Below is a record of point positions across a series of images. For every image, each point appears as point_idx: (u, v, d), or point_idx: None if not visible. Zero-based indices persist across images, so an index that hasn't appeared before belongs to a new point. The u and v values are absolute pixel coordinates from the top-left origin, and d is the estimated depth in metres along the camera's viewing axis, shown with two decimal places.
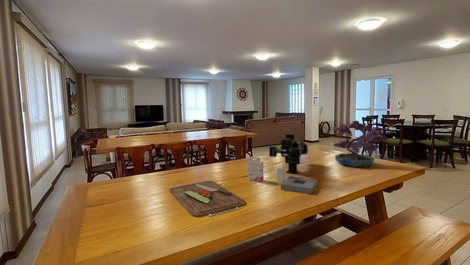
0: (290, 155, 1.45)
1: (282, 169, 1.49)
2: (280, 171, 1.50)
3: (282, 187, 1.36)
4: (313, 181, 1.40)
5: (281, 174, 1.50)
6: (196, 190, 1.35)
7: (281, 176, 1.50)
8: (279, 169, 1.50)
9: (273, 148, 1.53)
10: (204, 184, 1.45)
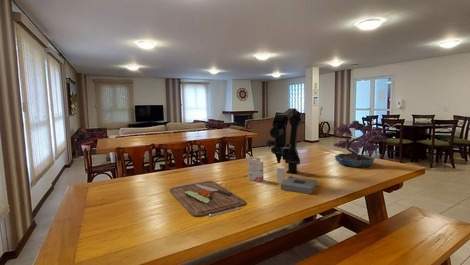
0: (278, 159, 1.46)
1: (282, 169, 1.49)
2: (280, 171, 1.50)
3: (282, 187, 1.36)
4: (313, 181, 1.40)
5: (281, 174, 1.50)
6: (196, 190, 1.35)
7: (281, 176, 1.50)
8: (279, 169, 1.50)
9: None
10: (204, 184, 1.45)
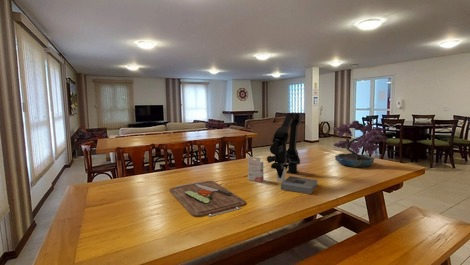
0: (279, 174, 1.49)
1: None
2: None
3: (282, 187, 1.36)
4: (313, 181, 1.40)
5: None
6: (196, 190, 1.35)
7: (281, 176, 1.50)
8: None
9: None
10: (204, 184, 1.45)
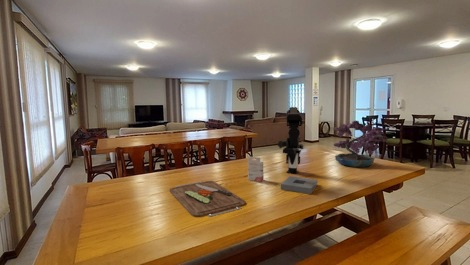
0: (291, 160, 1.39)
1: None
2: None
3: (282, 187, 1.36)
4: (313, 181, 1.40)
5: None
6: (196, 190, 1.35)
7: None
8: None
9: None
10: (204, 184, 1.45)
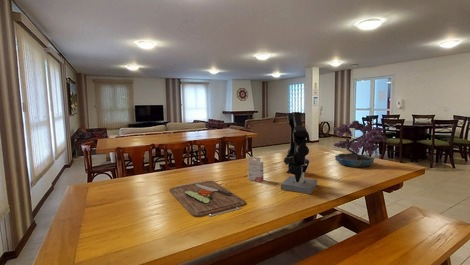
0: (297, 178, 1.35)
1: (301, 175, 1.37)
2: None
3: (282, 187, 1.36)
4: (313, 181, 1.40)
5: (300, 180, 1.37)
6: (196, 190, 1.35)
7: (300, 183, 1.37)
8: None
9: None
10: (204, 184, 1.45)
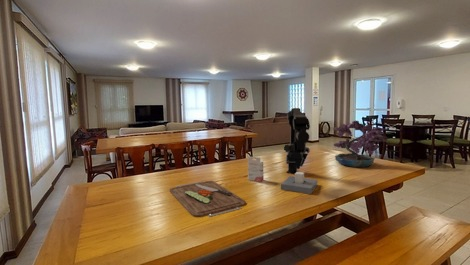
0: (298, 165, 1.35)
1: (301, 175, 1.37)
2: (299, 177, 1.37)
3: (282, 187, 1.36)
4: (313, 181, 1.40)
5: (300, 180, 1.37)
6: (196, 190, 1.35)
7: (300, 183, 1.37)
8: (297, 175, 1.38)
9: None
10: (204, 184, 1.45)
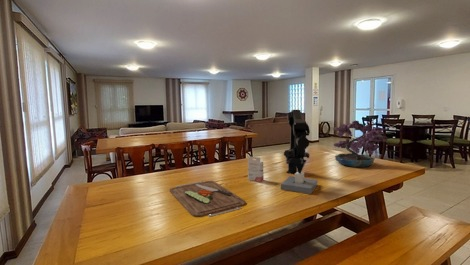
0: (299, 169, 1.38)
1: (301, 175, 1.37)
2: (299, 177, 1.37)
3: (282, 187, 1.36)
4: (313, 181, 1.40)
5: (300, 180, 1.37)
6: (196, 190, 1.35)
7: (300, 183, 1.37)
8: (297, 175, 1.38)
9: None
10: (204, 184, 1.45)
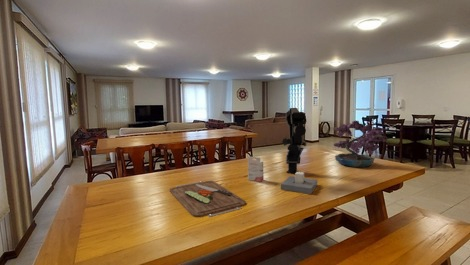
0: (296, 156, 1.47)
1: (301, 175, 1.37)
2: (299, 177, 1.37)
3: (282, 187, 1.36)
4: (313, 181, 1.40)
5: (300, 180, 1.37)
6: (196, 190, 1.35)
7: (300, 183, 1.37)
8: (297, 175, 1.38)
9: None
10: (204, 184, 1.45)
